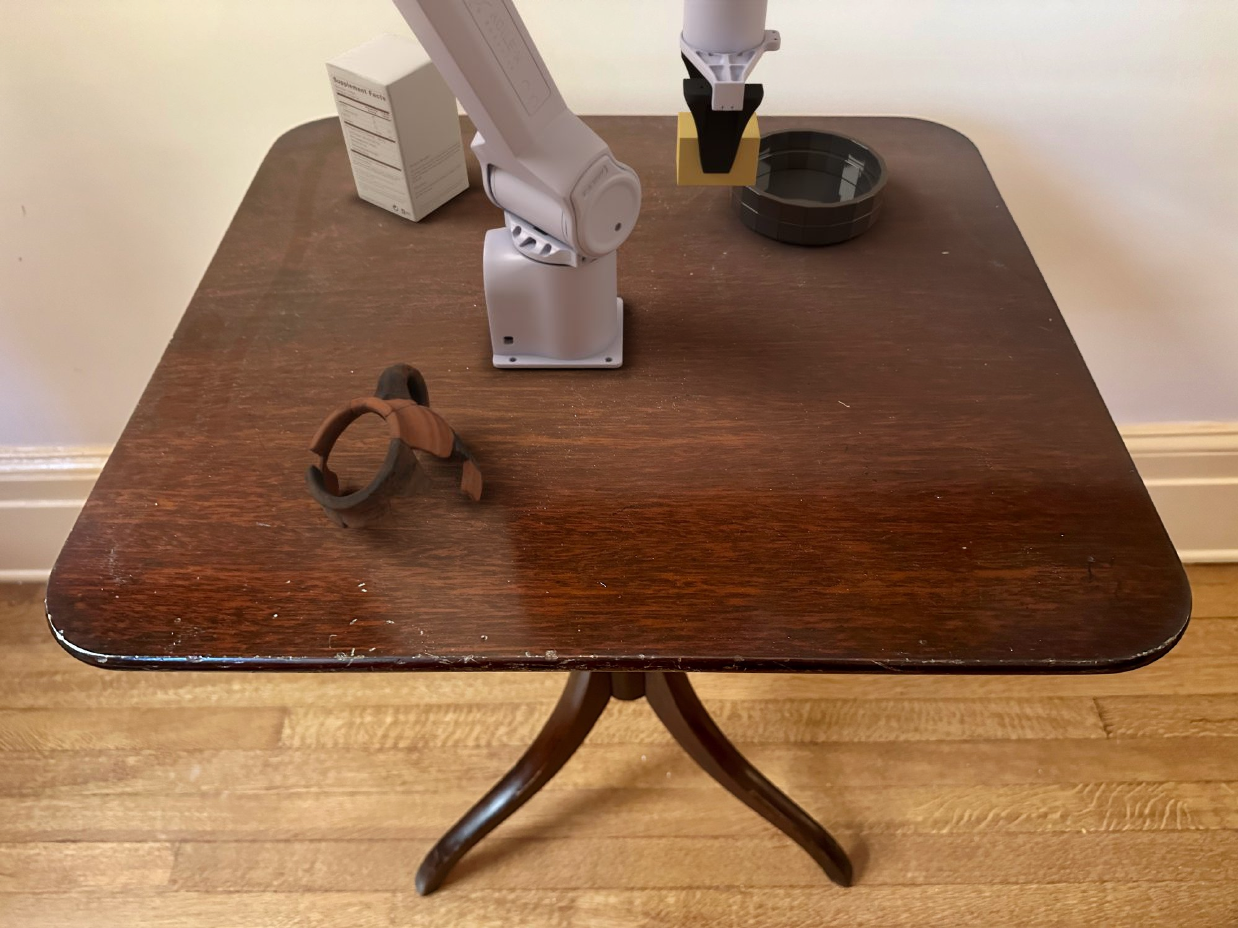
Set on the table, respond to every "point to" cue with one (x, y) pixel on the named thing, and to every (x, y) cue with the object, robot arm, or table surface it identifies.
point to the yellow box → (691, 165)
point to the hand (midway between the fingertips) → (714, 156)
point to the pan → (812, 187)
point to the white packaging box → (399, 126)
